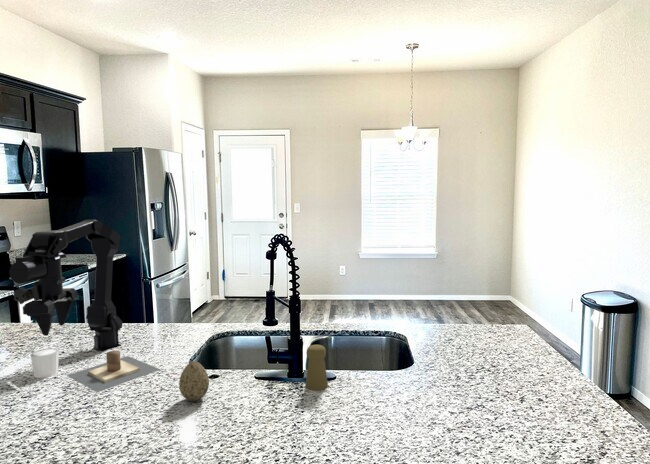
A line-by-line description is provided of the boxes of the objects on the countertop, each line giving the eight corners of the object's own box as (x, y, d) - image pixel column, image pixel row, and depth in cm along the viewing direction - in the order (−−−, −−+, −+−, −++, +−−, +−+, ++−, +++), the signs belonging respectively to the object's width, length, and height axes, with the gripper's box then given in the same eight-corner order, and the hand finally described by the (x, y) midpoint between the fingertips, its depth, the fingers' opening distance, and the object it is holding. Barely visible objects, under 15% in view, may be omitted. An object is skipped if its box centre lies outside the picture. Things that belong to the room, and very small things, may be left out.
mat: (128, 357, 138) (127, 355, 138) (160, 371, 127) (160, 369, 127) (67, 377, 124) (66, 375, 124) (97, 394, 113) (97, 392, 113)
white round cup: (65, 371, 128) (64, 348, 128) (49, 381, 121) (47, 356, 121) (44, 370, 129) (42, 347, 128) (26, 380, 122) (24, 356, 121)
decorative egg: (214, 400, 109) (213, 361, 108) (187, 409, 105) (185, 369, 104) (201, 390, 115) (200, 353, 114) (175, 399, 110) (173, 360, 109)
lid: (122, 362, 133) (121, 344, 132) (140, 370, 127) (139, 351, 126) (88, 373, 125) (86, 354, 124) (105, 382, 119) (104, 362, 118)
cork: (325, 392, 113) (325, 350, 112) (302, 390, 114) (302, 349, 113) (329, 382, 119) (329, 342, 118) (308, 380, 120) (307, 341, 119)
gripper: (36, 270, 131) (40, 321, 133) (-2, 284, 113) (3, 342, 114) (76, 269, 133) (79, 319, 134) (44, 282, 114) (49, 340, 116)
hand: (54, 330), depth 124 cm, fingers open, 9 cm apart
